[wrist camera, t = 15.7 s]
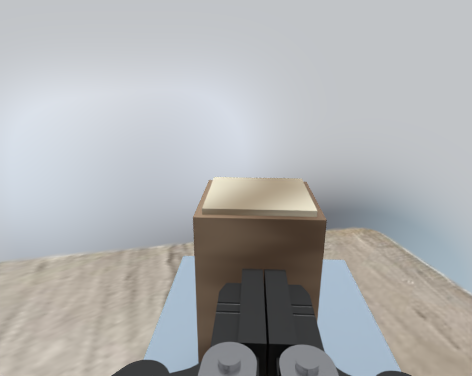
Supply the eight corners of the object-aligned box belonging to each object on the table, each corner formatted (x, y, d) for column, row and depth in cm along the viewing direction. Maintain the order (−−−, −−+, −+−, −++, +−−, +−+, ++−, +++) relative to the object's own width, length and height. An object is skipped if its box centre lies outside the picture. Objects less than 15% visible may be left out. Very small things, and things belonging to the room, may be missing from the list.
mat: (51, 615, 12) (48, 605, 12) (183, 261, 35) (183, 256, 34) (532, 648, 11) (538, 638, 11) (343, 265, 34) (344, 260, 34)
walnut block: (201, 446, 17) (192, 211, 13) (212, 364, 21) (209, 175, 18) (305, 451, 16) (327, 213, 13) (293, 367, 21) (306, 177, 17)
